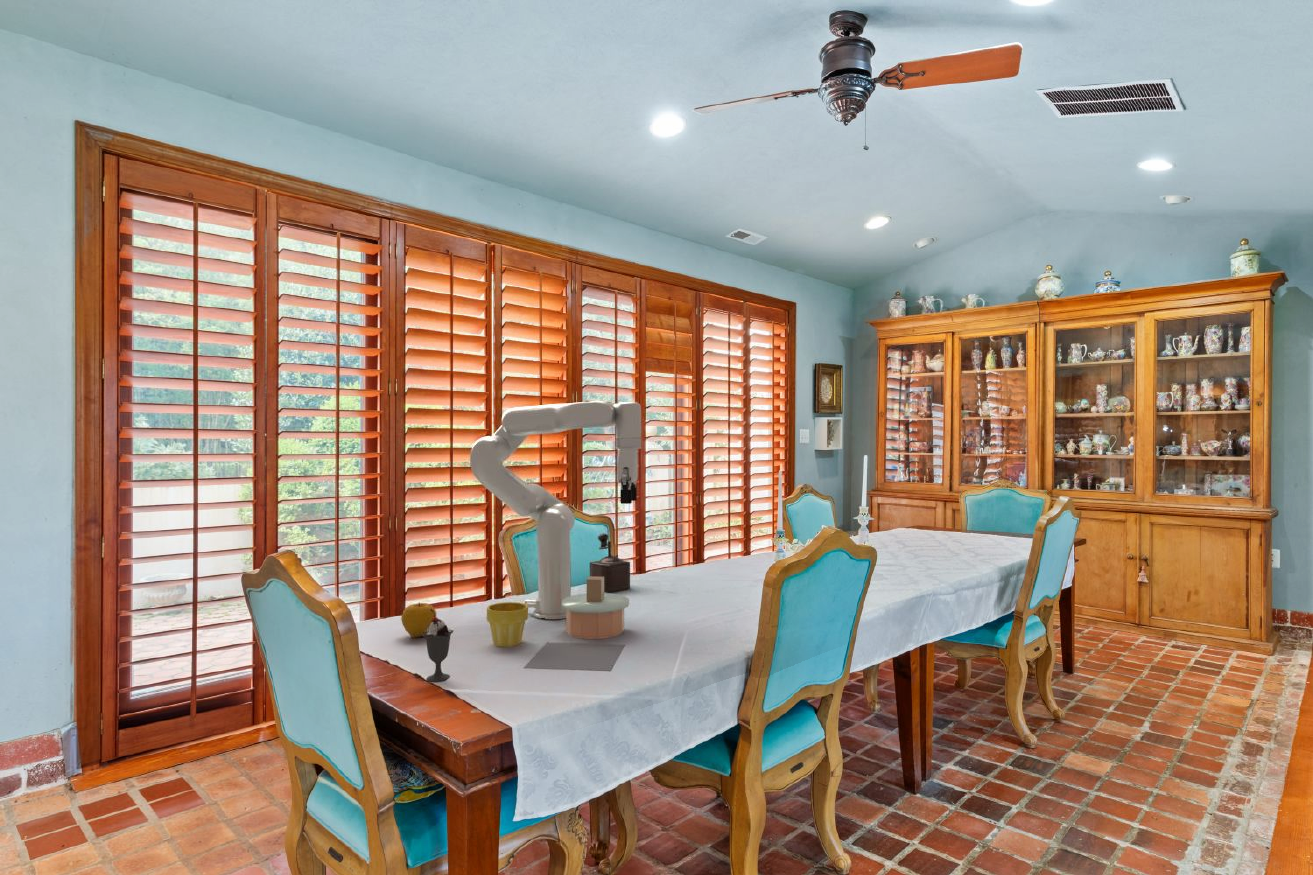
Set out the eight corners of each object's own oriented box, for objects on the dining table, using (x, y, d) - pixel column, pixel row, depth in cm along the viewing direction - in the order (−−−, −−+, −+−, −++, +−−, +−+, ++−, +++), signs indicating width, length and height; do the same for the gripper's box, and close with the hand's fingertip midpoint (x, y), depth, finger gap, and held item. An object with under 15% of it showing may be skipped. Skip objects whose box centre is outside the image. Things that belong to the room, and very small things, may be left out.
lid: (554, 612, 184) (554, 584, 184) (570, 596, 202) (570, 571, 202) (623, 613, 182) (623, 585, 182) (633, 597, 200) (633, 572, 200)
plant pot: (535, 640, 185) (535, 603, 185) (515, 652, 175) (514, 612, 175) (500, 637, 188) (500, 600, 188) (478, 648, 178) (478, 609, 178)
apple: (425, 641, 184) (425, 607, 184) (394, 640, 186) (393, 605, 186) (442, 632, 193) (442, 599, 193) (412, 630, 195) (412, 597, 195)
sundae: (425, 673, 159) (425, 606, 159) (456, 672, 160) (456, 605, 160) (418, 683, 153) (418, 613, 153) (450, 682, 153) (450, 612, 153)
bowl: (561, 639, 185) (561, 610, 185) (574, 624, 200) (574, 597, 200) (618, 641, 184) (618, 612, 184) (627, 626, 198) (627, 599, 198)
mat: (523, 670, 161) (523, 667, 161) (547, 644, 181) (547, 642, 181) (610, 673, 159) (610, 670, 159) (625, 646, 179) (625, 644, 179)
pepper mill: (632, 588, 248) (632, 536, 247) (607, 593, 240) (607, 539, 240) (604, 581, 259) (604, 532, 259) (580, 586, 251) (579, 535, 251)
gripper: (620, 443, 220) (621, 499, 220) (610, 444, 203) (610, 504, 203) (645, 443, 219) (645, 499, 219) (636, 444, 202) (637, 504, 202)
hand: (628, 501), depth 211 cm, fingers open, 9 cm apart
